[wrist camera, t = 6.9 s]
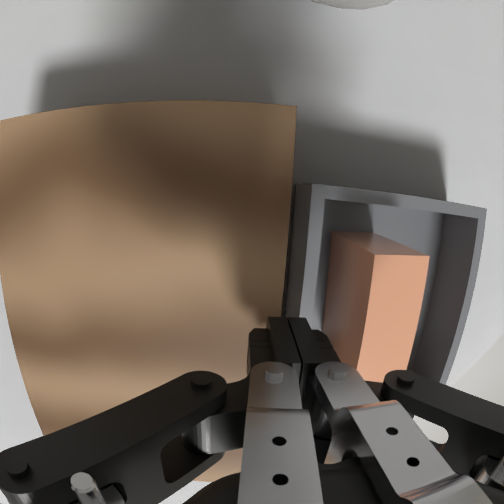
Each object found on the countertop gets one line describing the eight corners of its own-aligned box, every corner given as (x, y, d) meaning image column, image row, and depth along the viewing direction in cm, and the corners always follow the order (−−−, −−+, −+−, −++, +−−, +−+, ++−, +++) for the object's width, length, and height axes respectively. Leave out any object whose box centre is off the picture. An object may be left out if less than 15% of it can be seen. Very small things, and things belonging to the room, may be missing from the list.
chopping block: (49, 130, 16) (0, 120, 11) (281, 127, 16) (296, 106, 12) (75, 408, 20) (49, 449, 15) (256, 432, 20) (259, 483, 16)
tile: (374, 254, 11) (429, 255, 11) (331, 230, 17) (373, 232, 17) (351, 391, 12) (401, 385, 12) (321, 332, 18) (360, 331, 18)
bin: (296, 183, 17) (312, 183, 13) (447, 202, 17) (486, 208, 14) (277, 378, 19) (284, 417, 16) (413, 371, 20) (438, 401, 16)
